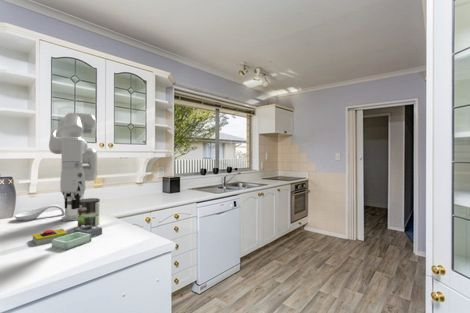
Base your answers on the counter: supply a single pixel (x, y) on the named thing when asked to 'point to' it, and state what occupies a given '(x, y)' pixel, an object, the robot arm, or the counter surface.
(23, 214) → the spoon rest
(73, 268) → the counter surface
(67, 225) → the counter surface
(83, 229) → the block
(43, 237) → the emergency button
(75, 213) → the fuse
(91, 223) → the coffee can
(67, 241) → the tray
